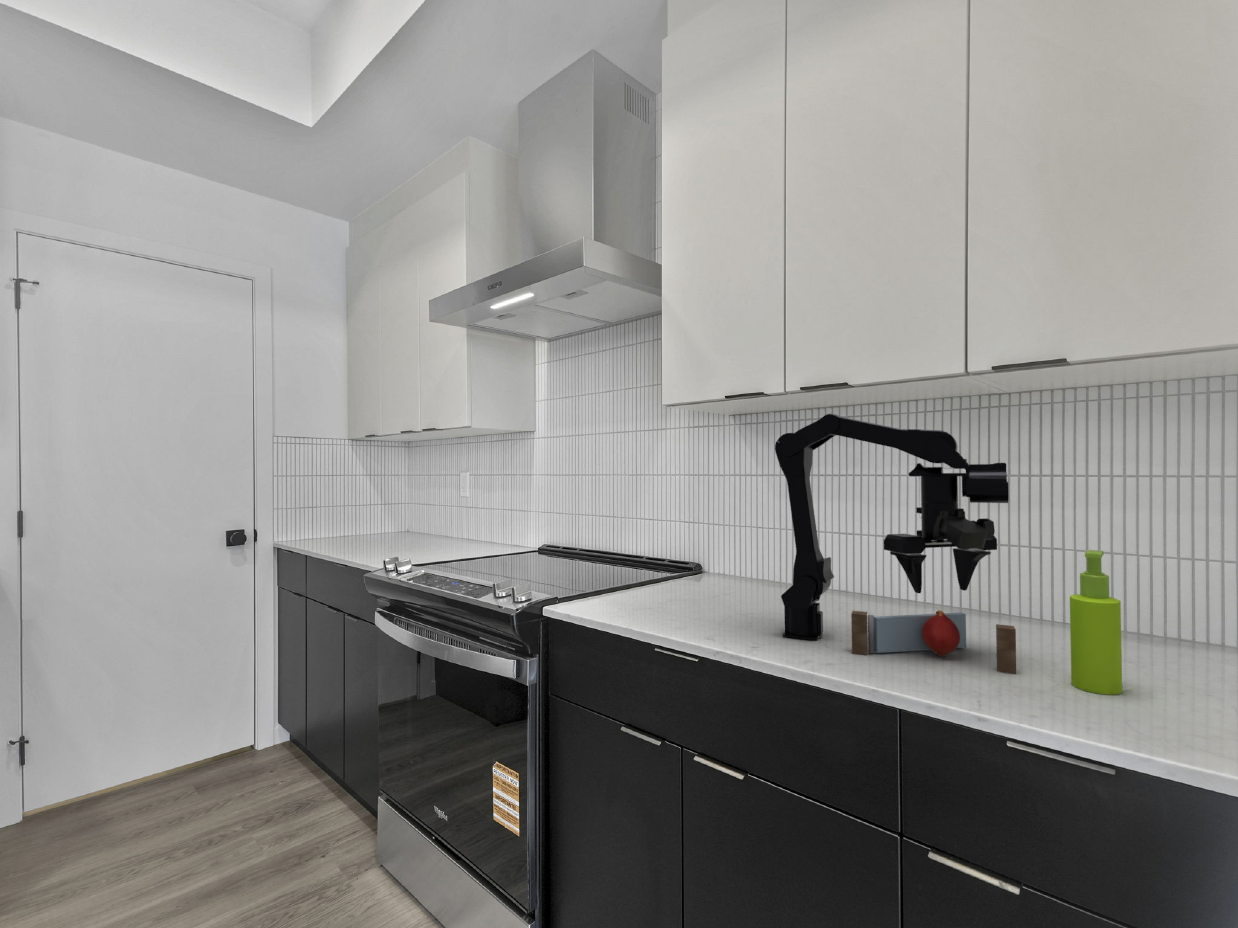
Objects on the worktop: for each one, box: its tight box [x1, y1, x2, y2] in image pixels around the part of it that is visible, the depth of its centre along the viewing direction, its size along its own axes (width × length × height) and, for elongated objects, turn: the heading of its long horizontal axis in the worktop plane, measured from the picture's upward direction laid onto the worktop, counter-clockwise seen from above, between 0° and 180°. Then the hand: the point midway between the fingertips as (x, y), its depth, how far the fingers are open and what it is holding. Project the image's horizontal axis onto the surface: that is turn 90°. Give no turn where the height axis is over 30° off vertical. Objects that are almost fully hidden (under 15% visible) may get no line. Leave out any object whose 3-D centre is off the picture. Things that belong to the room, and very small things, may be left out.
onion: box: [922, 609, 960, 658], centre depth 104 cm, size 6×6×8 cm
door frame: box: [850, 610, 1017, 675], centre depth 101 cm, size 24×3×7 cm, turn 63°
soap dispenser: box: [1069, 549, 1123, 696], centre depth 89 cm, size 6×7×20 cm
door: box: [867, 611, 967, 654], centre depth 107 cm, size 18×1×6 cm, turn 99°
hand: (940, 591), depth 105 cm, fingers open, 9 cm apart
